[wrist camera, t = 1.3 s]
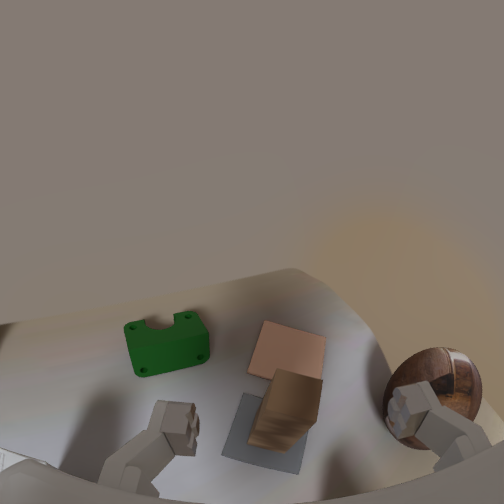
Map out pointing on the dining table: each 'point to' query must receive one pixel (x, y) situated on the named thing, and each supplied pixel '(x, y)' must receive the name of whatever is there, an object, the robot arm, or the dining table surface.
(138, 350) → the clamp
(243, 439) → the gray tile
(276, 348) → the coaster
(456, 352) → the brown metallic ball
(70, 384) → the dining table surface
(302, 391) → the walnut block
